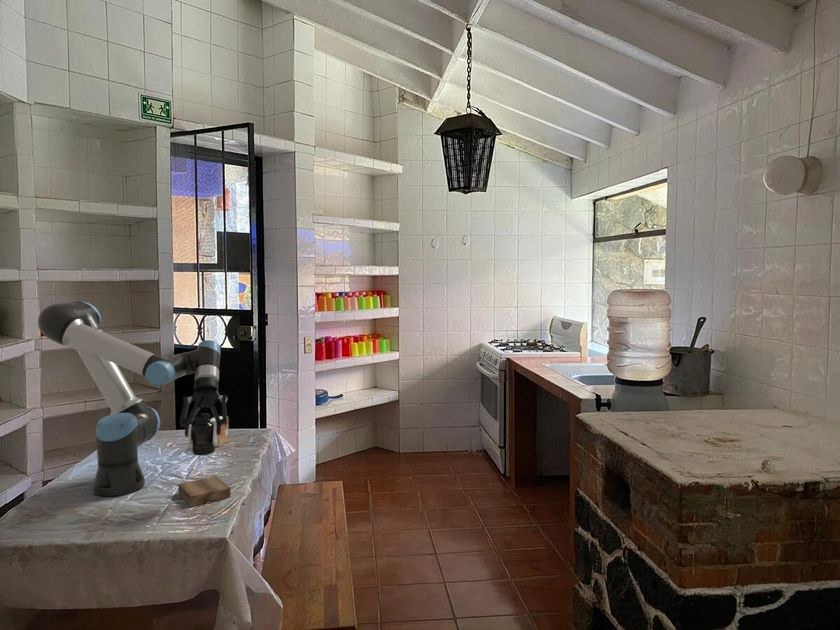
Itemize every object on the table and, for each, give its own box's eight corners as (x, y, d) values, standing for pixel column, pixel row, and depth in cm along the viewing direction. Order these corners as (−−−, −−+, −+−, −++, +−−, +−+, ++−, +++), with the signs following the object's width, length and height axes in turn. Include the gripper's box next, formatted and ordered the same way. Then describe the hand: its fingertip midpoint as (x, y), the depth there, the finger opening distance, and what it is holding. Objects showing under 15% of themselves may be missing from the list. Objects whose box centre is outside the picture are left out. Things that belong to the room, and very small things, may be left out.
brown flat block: (191, 506, 183) (190, 496, 182) (178, 493, 193) (178, 484, 193) (230, 496, 190) (230, 487, 190) (216, 484, 200) (215, 476, 200)
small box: (219, 447, 241) (218, 421, 240) (206, 446, 242) (205, 420, 241) (229, 441, 248) (228, 416, 247) (217, 440, 250) (216, 415, 249)
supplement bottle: (220, 450, 192) (218, 413, 191) (204, 457, 186) (202, 418, 185) (203, 448, 195) (202, 411, 194) (187, 454, 189) (185, 416, 188)
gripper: (238, 386, 206) (236, 447, 191) (176, 389, 201) (169, 452, 187) (236, 374, 200) (234, 436, 186) (173, 376, 196) (165, 440, 181)
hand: (202, 444), depth 186 cm, fingers closed on supplement bottle, 7 cm apart
